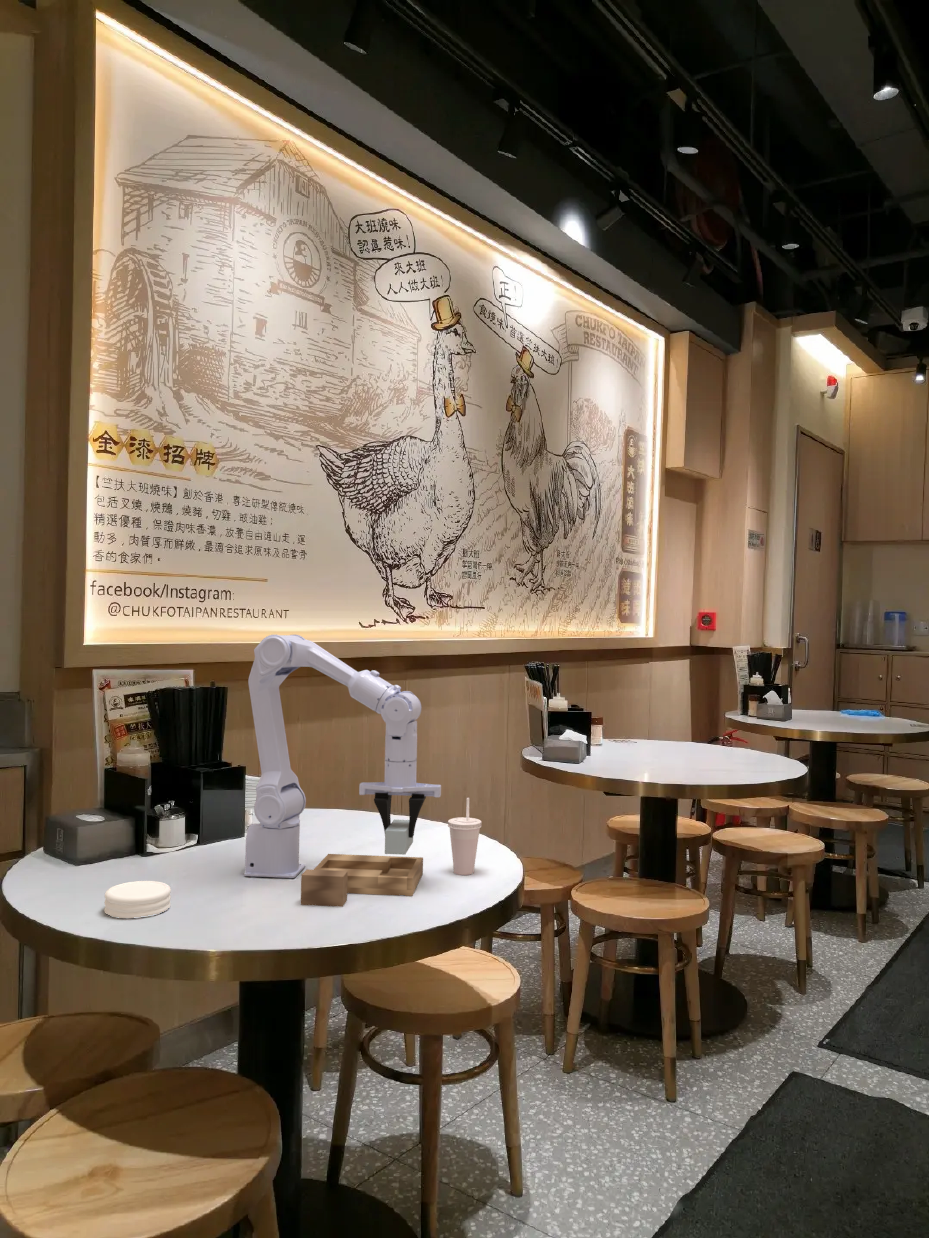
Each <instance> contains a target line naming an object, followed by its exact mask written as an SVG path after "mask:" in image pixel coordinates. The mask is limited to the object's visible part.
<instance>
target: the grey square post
mask: <svg viewBox="0 0 929 1238" xmlns="http://www.w3.org/2000/svg"><path fill="white" fill-rule="evenodd" d="M413 843H414V837H413V838H409V819H393V820H392V822H391V824H390V825H389V827H388V828H387V829H386V830H385V832H384V855H404V856H405V855H406V854H407V852H408V851H409V849H410V848H411V846H412V845H413Z"/></svg>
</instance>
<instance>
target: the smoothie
mask: <svg viewBox="0 0 929 1238" xmlns="http://www.w3.org/2000/svg"><path fill="white" fill-rule="evenodd" d="M465 806H466V809H465V811H466V813H465V814H466V815H465V817H462V816H461V817H453V818H450V819H448V821H447V827H448V828H449V835H450V846H451V856H452V857H451V858H452V864H453V866H452V867H453V873H454V874H455V875H458V876H470V874H471V875H473V874H474V872H475V865H476V858H477V852H478V851H477V850H478V844H479V838H480V837H479V836H480V828H482V820H480V819H478V818H474V817H470V797H466V805H465ZM472 873H473V874H472Z"/></svg>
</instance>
